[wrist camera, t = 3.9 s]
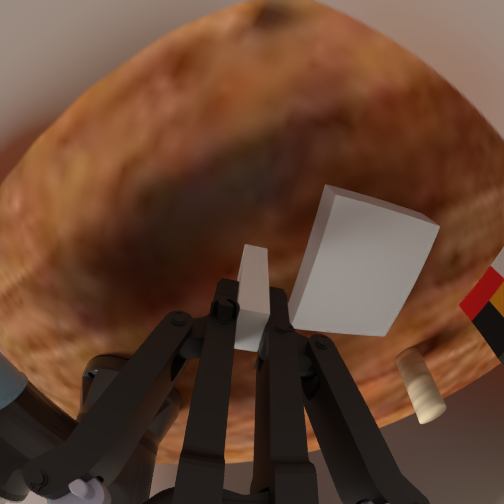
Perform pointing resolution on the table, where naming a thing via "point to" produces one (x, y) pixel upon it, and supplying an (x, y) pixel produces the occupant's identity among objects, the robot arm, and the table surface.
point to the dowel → (420, 385)
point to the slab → (359, 264)
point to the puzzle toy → (489, 306)
